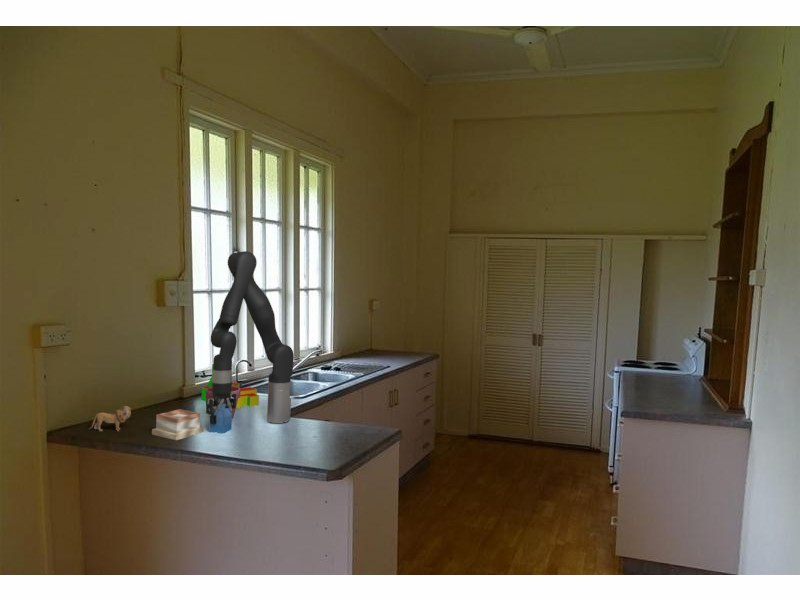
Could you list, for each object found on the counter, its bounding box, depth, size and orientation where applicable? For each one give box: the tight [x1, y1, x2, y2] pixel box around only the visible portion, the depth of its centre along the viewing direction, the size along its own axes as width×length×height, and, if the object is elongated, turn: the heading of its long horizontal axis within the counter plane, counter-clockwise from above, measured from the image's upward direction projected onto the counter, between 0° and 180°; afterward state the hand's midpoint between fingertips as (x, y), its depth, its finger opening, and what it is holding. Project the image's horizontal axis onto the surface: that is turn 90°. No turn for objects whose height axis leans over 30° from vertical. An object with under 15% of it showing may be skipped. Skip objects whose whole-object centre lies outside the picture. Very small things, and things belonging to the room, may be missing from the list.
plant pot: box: [206, 386, 241, 420], centre depth 234 cm, size 14×14×13 cm
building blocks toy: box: [201, 363, 260, 409], centre depth 263 cm, size 19×25×18 cm
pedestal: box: [151, 408, 204, 441], centre depth 209 cm, size 13×13×8 cm
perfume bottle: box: [208, 401, 233, 434], centre depth 215 cm, size 6×6×12 cm
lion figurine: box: [87, 405, 132, 432], centre depth 210 cm, size 15×5×9 cm, turn 110°
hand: (220, 422), depth 215 cm, fingers closed on perfume bottle, 7 cm apart
